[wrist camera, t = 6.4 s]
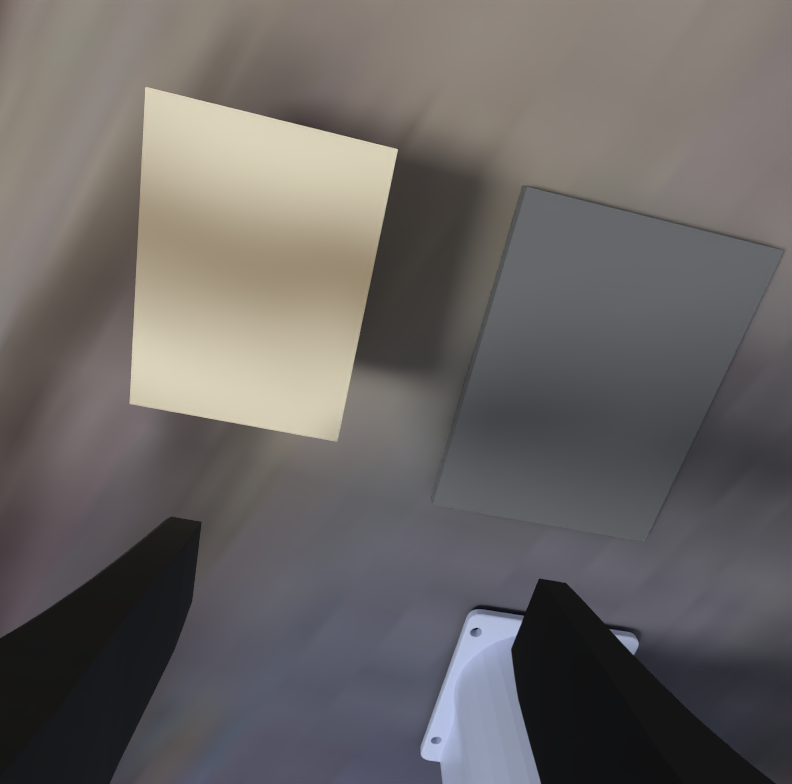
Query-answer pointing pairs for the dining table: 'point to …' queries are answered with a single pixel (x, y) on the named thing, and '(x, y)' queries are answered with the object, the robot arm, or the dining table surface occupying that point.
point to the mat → (596, 364)
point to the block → (252, 265)
